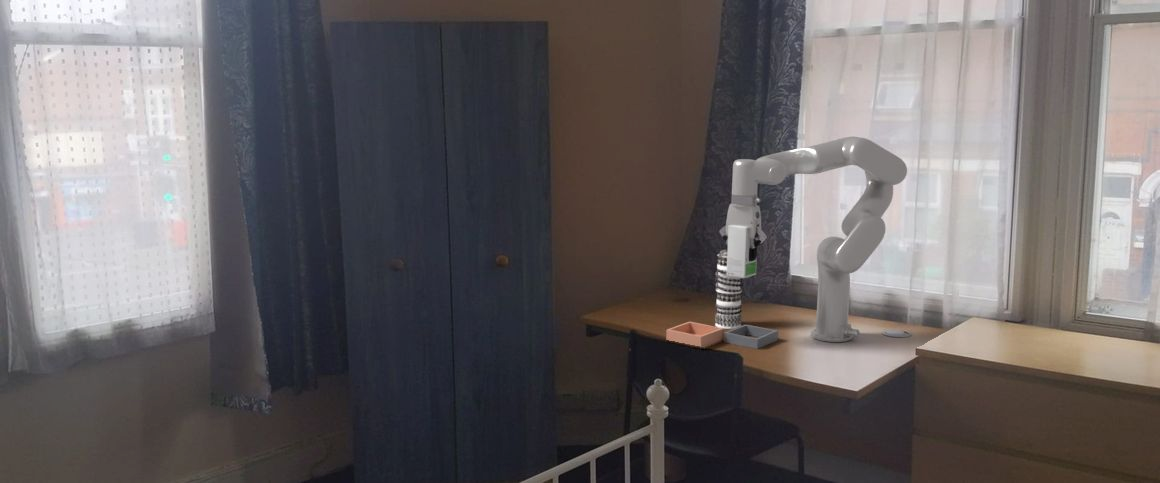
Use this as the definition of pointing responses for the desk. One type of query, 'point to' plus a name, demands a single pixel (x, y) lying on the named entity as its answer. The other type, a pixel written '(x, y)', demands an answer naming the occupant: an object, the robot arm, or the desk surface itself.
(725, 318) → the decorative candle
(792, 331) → the desk surface
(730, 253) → the skincare box
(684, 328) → the terracotta bin
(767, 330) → the frame
